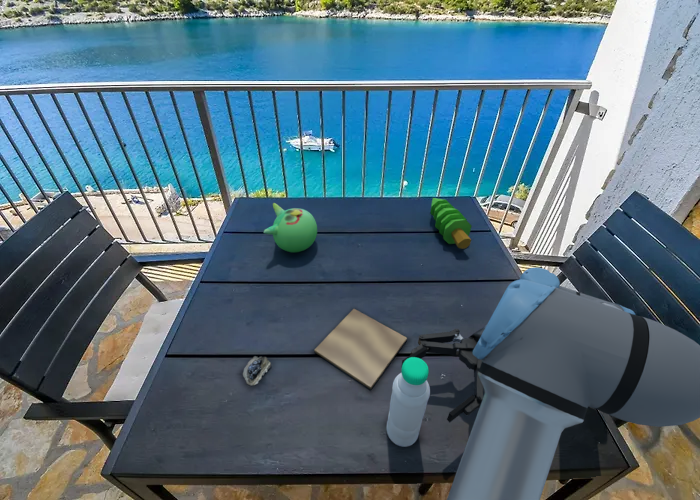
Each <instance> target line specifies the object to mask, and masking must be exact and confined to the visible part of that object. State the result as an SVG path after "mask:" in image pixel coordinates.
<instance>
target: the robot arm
mask: <svg viewBox="0 0 700 500" xmlns="http://www.w3.org/2000/svg"><path fill="white" fill-rule="evenodd" d="M560 284H561V281H560V279H559V278H558V276H557V275H556V274H555V273H553V272H550V270H548V269H547V268H543V267H530V268H527V269H525V270H524V271H523V273H522V274H521V276H520V277H519V279H516V280H514V281H512V282H510V283H509V284H508V286H507V287H506V289H505V291H504V293H503V295H502V296H501V298H500V300H499V302H498V304H497V305H496V307H495V309H494V311H493V313H492V314H491V316H490V318H489V320H488V321H487V324H486V325H484V326H483V327H482V328H479V329H478V330H477V331H475V332H474V333H472V334H471V335H470V336H468V337H463V336H462V335H461V334H460V333H461V332H460V331H461V330H460V329H458V328H455V329H453V330H450V331H444V332H443V331H442V332H434V333H424V334H420V335H419V336H418V340H417V346H416V347H414V348H412V349H411V350H410V355H409V356H407V357H405V358H404V359H402V360H401V366H400V367H401V368H400V369H402V365H403V363H404V361H406V359H408V358H411V357H417V358H420V359H423V358H425V357H426V355H427V353H428V354H438V355H448V356H452V357H453V358H454V357H455V358H458V361H460V362H461V363H463V364H464V365H465V367H466V368H468V369H469V370H471V371H472V370H473V377H474V379H473V394H472V395H470V396H468V398H466V399H465V400H464V401H462V402H461V403H460V404H459V405H457V406H456V407H455V408H454V409H452V410H450V412H448V415H447V418H446V421H447V422H448V423H452V421H454V420H455V419H456V418H457V417H459V416H460V415H462V414H464V415H465V416H470V415H471V414H472V413H474V412H475V411H476V410H477V409H478V411H477V414H476V417H475V420H474V422H473V425H472V428H471V431H470V433H469V437H468V439H467V442H466V445H465V448H464V451H463V453H462V456H461V458H460V462H459V464H458V467H457V470H456V473H455V475H454V477H453V481H452V483H451V487H450V489H449V493H448V495H447V498H446V500H541V498H542V494H543V492H544V489H545V485H546V481H547V478H548V476H549V473H550V470H551V466H552V464H553V460H554V457H555V454H556V451H557V447H558V444H559V441H560V438H561V436H562V432H563V431H564V430H565V429H567V428H570V427H573V426H577V425H579V424H582V423H583V422H584V421H585V417H586V415H587V411H588V408H591V409H594V410H597V411H599V412H601V413H603V414H606V415H608V416H612V417H613V418H615V419H618V420H622V421H624V422H627V423H631V424H636V425H639V426H647V427H656V428H657V427H659V428H663V427H664V428H665V427H673V426H674V427H675V426H681V425H682V426H683V425H685V424H689V423H691V422H695V421H697V420H698V419H700V344H699V343H697V342H696V341H695V340H694V339H692V338H690V337H688V336H687V335H685V334H683V333H682V332H679V331H678V330H676V329H674V328H672V327H669V326H668V325H665V324H663V323H662V322H659V321H656V320H653V319H650V318H647V317H644V316H641V315H636V313H635V312H634V311H633V310H632V309H630V308H627V307H625V306H623V305H621V304H619V303H616V302H610V301H608V300H605V299H601V298H598V297H595V296H592V295H589V294H585V293H583V292H579V291H577V290H574V289H571V288H569V287H565V286H563V285H560ZM452 342H453V343H452Z"/></svg>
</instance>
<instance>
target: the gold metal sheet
mask: <svg viewBox="0 0 700 500" xmlns="http://www.w3.org/2000/svg"><path fill="white" fill-rule="evenodd" d="M407 341H408V337H406V336H404V335H402V334H401V333H399V332H398V331H395V330H394V329H392V328H390V327H388V326H387V325H384V324H383V323H381V322H379V321H377V320H376V319H374V318H372V317H371V316H368V315H367V314H365V313H362V312H361V311H359V310H357V309H355V308H353V309H352V310H351V311H350V312H348V314H347V315H346V316H345V317H344V318H343V319H342V320H341V321H340V322H339V323H338V324H337V325H336V326H335V327H334V329H333V330H331V331H330V333H328V335H327V336H325V338H324V339H323V340H322V341H321V342H320V343H319V344H318V345H317V346H316V348H314V350H313V352H314V353H315V354H317V355H318V356H320V357H321V358H323V359H324V360H326V361H327V362H329V363H330V364H331V365H333V366H335V367H336V368H338V369H339V370H341V371H342V372H343V373H345V374H347V375H348V376H350V377H351V378H352V379H354V380H356V381H357V382H359V383H360V384H362V385H363V386H365V387H367V389H369V390H372V389H373V387H374V386H375V384H377V382H378V380H379V379H380V377H381V376H382V375H383V373H384V372H385V371H386V369H387V368H388V367H389V366H390V364H391V363H392V361H393V360H394V358H395V357H396V356H397V354H398V353H399V351H400V350H401V349H402V347H403V346H404V345H405V344H406V342H407Z"/></svg>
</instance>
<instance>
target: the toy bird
mask: <svg viewBox="0 0 700 500" xmlns="http://www.w3.org/2000/svg"><path fill="white" fill-rule="evenodd" d="M272 208H273V211H274V213H275V216H276V218H275V219H274V221H273V224H272V225H271V226H269V227H267V228H265V229H264V230H263V234H264V235H272V238H273V241H274V242H275V244H276V245H277V247H278V248H280V249H281V250H283V251H285V252H287V253H288V252H289V253H301V252H304V251H305V250H307V249H309V248H310V247H311V246H312V245H313V244H314V242H316V238H317V236H318V225H317V221H316V219H315V217H314V216H313V214H312V213H310V212H309V211H308V210H306V209H304V208H300V207H299V208H297V207H293V208H288V209H286V210H285V209H283V208H282V207H281V206H280V205H279V204H277V203H275V202H273V203H272Z"/></svg>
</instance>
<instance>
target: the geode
mask: <svg viewBox="0 0 700 500" xmlns="http://www.w3.org/2000/svg"><path fill="white" fill-rule="evenodd" d="M271 367H272V363H271V362H270V360H269V359H268V357H267V356H259V357H258V356H256V355H254V356H253V357H252V358H251V359H250V360H249V361H248V362H247V364H246V365H245V367H244V368H243V372H242V376H243V377H242V378H244V380H245V382H246V384H247V385H248V386H251V387H252V386H256V385H258V384H259V382H260V381H261V380H262V376H264V375H265V373H267V372H268V370H269V369H271Z"/></svg>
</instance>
